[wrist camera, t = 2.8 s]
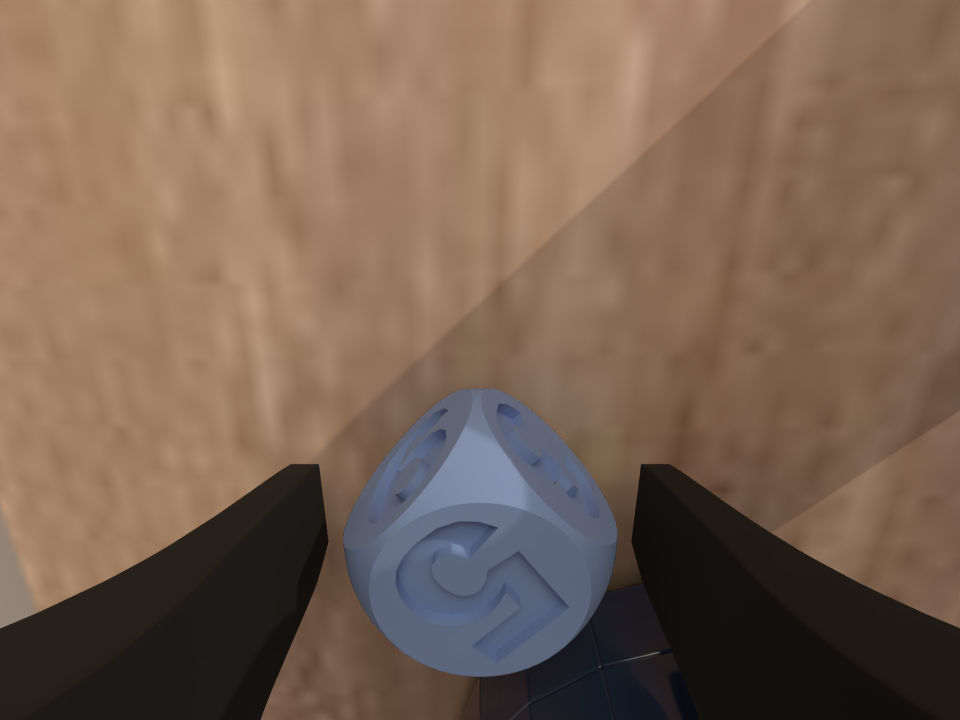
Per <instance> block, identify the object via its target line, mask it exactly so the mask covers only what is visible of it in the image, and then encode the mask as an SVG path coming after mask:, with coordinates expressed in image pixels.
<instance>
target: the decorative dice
mask: <svg viewBox="0 0 960 720" xmlns="http://www.w3.org/2000/svg"><path fill="white" fill-rule="evenodd" d="M617 535H618V532H617V526H616V522H615V519H614V516H613V514H612V511H611V509H610V507H609V505H608V503H607V501H606V499H605V497H604V495H603V494H602V492H601V490H600V489H599V487H598V485H597V484H596V482H595V481H594V479H593V478H592V476H591V475H590V474H589V472H588V471H587V469H586V468H585V467H584V465H583V464H582V463H581V462H580V460H579V459H578V458H577V457H576V455H575V454H574V453H573V452H572V450H571V449H570V448H569V447H568V446H567V445H566V444H565V442H564V441H563V440H562V439H561V438H560V437H559V436H558V435H557V434H556V433H555V432H554V431H553V430H552V429H551V428H550V427H549V426H548V425H547V424H546V423H545V422H544V421H543V420H542V419H541V418H540V417H539V416H537V415H536V414H535V413H534V412H533V411H531V410H530V409H529V408H528V407H526V406H525V405H524V404H522V403H521V402H520V401H518V400H517V399H515V398H513V397H512V396H510V395H508V394H506V393H504V392H502V391H499V390H496V389H463V390H459V391H456V392H454V393H452V394H450V395H448V396H447V397H445V398H444V399H442V400H441V401H439V402H438V403H437V404H436V405H434V406H433V407H432V408H431V409H430V410H428V411H427V412H426V413H425V414H424V415H423V416H422V417H421V418H420V419H419V420H418V421H417V422H416V423H415V424H414V425H413V426H412V427H411V428H410V429H409V430H408V431H407V432H406V433H405V434H404V435H403V437H402V438H401V439H400V440H399V441H398V442H397V444H396V445H395V446H394V447H393V448H392V450H391V451H390V452H389V453H388V455H387V456H386V457H385V459H384V460H383V461H382V462H381V464H380V465H379V467H378V468H377V469H376V471H375V472H374V474H373V475H372V477H371V478H370V480H369V481H368V483H367V484H366V486H365V487H364V489H363V491H362V492H361V494H360V496H359V498H358V499H357V501H356V503H355V505H354V507H353V509H352V511H351V513H350V516H349V518H348V521H347V523H346V526H345V530H344V535H343V544H344V551H345V558H346V565H347V570H348V574H349V577H350V580H351V583H352V586H353V589H354V591H355V593H356V595H357V597H358V600H359V601H360V603H361V605H362V607H363V609H364V610H365V612H366V614H367V615H368V616H369V618H370V619H371V621H372V622H373V623H374V625H375V626H376V627H377V628H378V630H379V631H380V632H381V633H382V634H383V635H384V636H385V637H386V638H387V639H388V640H389V641H390V642H391V643H392V644H393V645H394V646H395V647H397V648H398V649H399V650H401V651H402V652H403V653H405V654H406V655H408V656H409V657H411V658H412V659H414V660H416V661H418V662H420V663H422V664H424V665H426V666H428V667H431V668H433V669H436V670H439V671H443V672H447V673H451V674H456V675H463V676H474V677H487V676H498V675H505V674H510V673H514V672H518V671H521V670H524V669H527V668H530V667H532V666H534V665H537V664H539V663H541V662H543V661H545V660H546V659H548V658H550V657H551V656H553V655H554V654H556V653H557V652H559V651H560V650H561V649H563V648H564V647H565V646H566V645H567V644H568V643H570V642H571V641H572V640H573V639H574V638H575V637H576V636H577V635H578V633H579V632H580V631H581V630H582V629H583V628H584V626H585V625H586V624H587V622H588V621H589V620H590V618H591V617H592V615H593V614H594V612H595V611H596V609H597V607H598V606H599V604H600V602H601V600H602V598H603V596H604V594H605V591H606V589H607V587H608V584H609V581H610V578H611V575H612V572H613V568H614V563H615V558H616V547H617Z"/></svg>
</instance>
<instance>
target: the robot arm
mask: <svg viewBox="0 0 960 720" xmlns="http://www.w3.org/2000/svg"><path fill="white" fill-rule="evenodd" d="M327 545H328V534H327V526H326V518H325V510H324V502H323V494H322V486H321V478H320V470H319V464H291V465H289V466H287V467H285V468H284V469H282V470H281V471H279V472H278V473H276V474H275V475H273V476H272V477H270V478H269V479H268V480H266V481H265V482H263V483H262V484H261V485H259V486H258V487H256V488H255V489H253V490H252V491H251V492H249V493H248V494H246V495H245V496H244V497H242V498H241V499H239V500H238V501H236V502H235V503H234V504H232V505H231V506H229V507H228V508H226V509H225V510H223V511H222V512H221V513H219V514H218V515H216V516H215V517H213V518H212V519H210V520H208V521H207V522H205V523H204V524H202V525H201V526H199V527H198V528H196V529H194V530H193V531H191V532H190V533H188V534H187V535H185V536H184V537H182V538H180V539H179V540H177V541H176V542H174V543H173V544H171V545H169V546H168V547H166V548H164V549H163V550H161V551H159V552H157V553H156V554H154V555H152V556H151V557H149V558H147V559H145V560H144V561H142V562H140V563H138V564H136V565H134V566H132V567H131V568H129V569H127V570H125V571H123V572H121V573H119V574H118V575H116V576H114V577H112V578H110V579H108V580H106V581H104V582H102V583H100V584H98V585H96V586H94V587H92V588H89V589H87V590H85V591H83V592H81V593H79V594H77V595H75V596H72V597H70V598H68V599H66V600H64V601H62V602H60V603H58V604H55V605H53V606H51V607H49V608H47V609H45V610H43V611H41V612H38V613H36V614H34V615H31V616H29V617H27V618H24V619H22V620H20V621H17V622H15V623H13V624H10V625H8V626H5V627H3V628H0V720H261V717H262V714H263V711H264V709H265V706H266V704H267V701H268V698H269V696H270V693H271V691H272V688H273V686H274V683H275V681H276V679H277V676H278V674H279V672H280V669H281V667H282V665H283V662H284V660H285V658H286V655H287V653H288V651H289V648H290V646H291V644H292V641H293V639H294V637H295V634H296V632H297V630H298V628H299V625H300V623H301V621H302V618H303V616H304V613H305V611H306V609H307V606H308V604H309V602H310V599H311V597H312V594H313V592H314V589H315V587H316V584H317V581H318V578H319V574H320V571H321V567H322V564H323V560H324V556H325V553H326V549H327ZM632 545H633V549H634V553H635V557H636V560H637V564H638V568H639V571H640V574H641V578H642V581H643V584H644V587H645V590H646V592H647V594H648V597H649V599H650V602H651V604H652V606H653V609H654V611H655V613H656V616H657V618H658V621H659V623H660V625H661V628H662V630H663V632H664V635H665V637H666V639H667V642H668V644H669V646H670V649H671V651H672V653H673V656H674V658H675V660H676V663H677V665H678V667H679V669H680V672H681V674H682V676H683V679H684V681H685V683H686V686H687V688H688V691H689V693H690V696H691V699H692V701H693V704H694V706H695V709H696V712H697V714H698V717H699V720H960V628H958V627H955V626H953V625H951V624H948V623H946V622H943V621H941V620H939V619H936V618H934V617H931V616H929V615H927V614H925V613H922V612H920V611H918V610H916V609H914V608H911V607H909V606H907V605H905V604H903V603H900V602H898V601H896V600H894V599H892V598H890V597H887V596H885V595H883V594H881V593H879V592H877V591H875V590H873V589H871V588H868V587H866V586H864V585H862V584H860V583H858V582H856V581H854V580H852V579H851V578H849V577H847V576H845V575H843V574H841V573H839V572H837V571H836V570H834V569H832V568H830V567H828V566H826V565H824V564H823V563H821V562H819V561H817V560H815V559H813V558H812V557H810V556H808V555H806V554H805V553H803V552H801V551H799V550H798V549H796V548H794V547H793V546H791V545H790V544H788V543H786V542H785V541H783V540H781V539H780V538H778V537H777V536H775V535H773V534H772V533H770V532H769V531H767V530H765V529H764V528H762V527H761V526H759V525H758V524H756V523H755V522H753V521H752V520H750V519H749V518H747V517H746V516H744V515H743V514H741V513H740V512H738V511H737V510H735V509H734V508H732V507H731V506H730V505H728V504H727V503H725V502H724V501H722V500H721V499H720V498H718V497H717V496H715V495H714V494H712V493H711V492H710V491H708V490H707V489H705V488H704V487H703V486H701V485H700V484H698V483H697V482H696V481H694V480H693V479H691V478H690V477H688V476H687V475H685V474H684V473H683V472H681V471H679V470H678V469H676V468H675V467H673V466H671V465H670V464H641V470H640V478H639V486H638V494H637V502H636V510H635V518H634V526H633V534H632Z"/></svg>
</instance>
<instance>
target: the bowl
mask: <svg viewBox="0 0 960 720" xmlns="http://www.w3.org/2000/svg"><path fill="white" fill-rule="evenodd" d="M460 720H699V717H698V714H697V712H696V709H695V706H694V704H693V701H692V699H691V696H690V693H689V691H688V688H687V686H686V683H685V681H684V679H683V676H682V674H681V672H680V669H679V667H678V665H677V663H676V660H675V658H674V656H673V653H672V651H671V649H670V646H669V644H668V642H667V639H666V637H665V635H664V632H663V630H662V628H661V625H660V623H659V621H658V618H657V616H656V613H655V611H654V609H653V606H652V604H651V602H650V599H649V597H648V594H647V592H646V590H645V587H644V584H643V583H641V584H637V585H633V586H629V587H625V588H621V589H617V590H613V591H609V592H605V594H604V596H603V598H602V600H601V602H600V604H599V606H598V607H597V609H596V611H595V612H594V614H593V615H592V617H591V618H590V620H589V621H588V622H587V624H586V625H585V626H584V628H583V629H582V630H581V631H580V632H579V633H578V635H577V636H576V637H575V638H574V639H573V640H572V641H571V642H570V643H568V644H567V645H566V646H565V647H564V648H563V649H561V650H560V651H559V652H557V653H556V654H554V655H553V656H551V657H550V658H548V659H546V660H545V661H543V662H541V663H539V664H537V665H534V666H532V667H530V668H527V669H524V670H521V671H518V672H514V673H510V674H505V675H498V676H487V677H479V678H478V680H477V682H476V685H475V687H474V689H473V691H472V694H471V696H470V698H469V700H468V703H467V705H466V707H465V709H464V712H463V714H462V716H461V718H460Z"/></svg>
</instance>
